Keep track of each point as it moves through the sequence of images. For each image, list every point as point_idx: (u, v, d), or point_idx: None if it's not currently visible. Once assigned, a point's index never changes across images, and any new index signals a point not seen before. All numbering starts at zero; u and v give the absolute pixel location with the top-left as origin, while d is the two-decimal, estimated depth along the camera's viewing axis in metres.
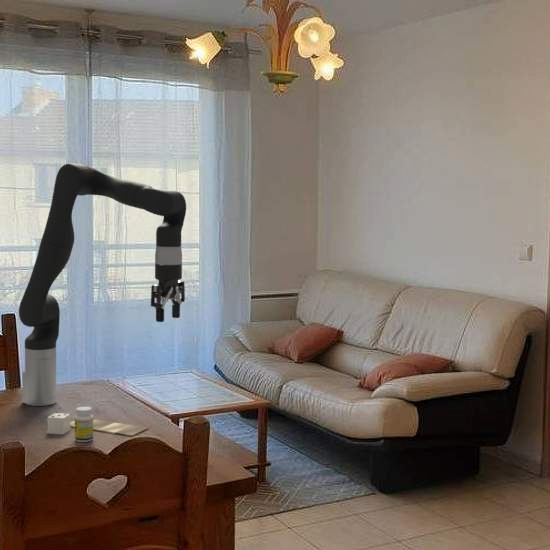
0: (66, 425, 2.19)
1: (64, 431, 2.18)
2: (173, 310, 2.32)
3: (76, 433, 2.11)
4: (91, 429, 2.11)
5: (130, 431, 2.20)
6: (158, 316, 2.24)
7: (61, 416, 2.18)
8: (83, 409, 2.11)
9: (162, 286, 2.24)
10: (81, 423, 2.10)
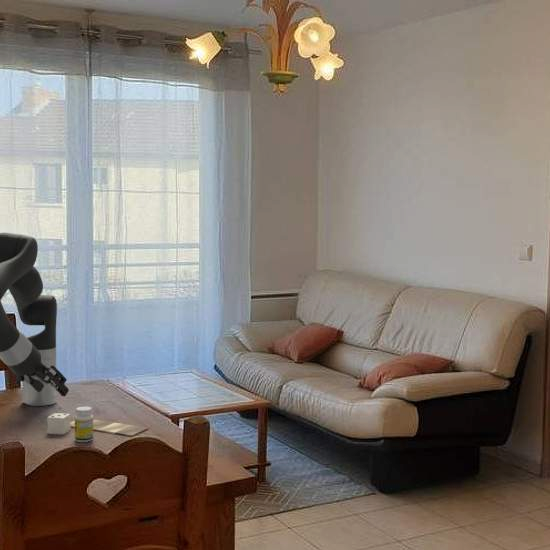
0: (66, 425, 2.19)
1: (64, 431, 2.18)
2: None
3: (76, 433, 2.11)
4: (91, 429, 2.11)
5: (130, 431, 2.20)
6: None
7: (61, 416, 2.18)
8: (83, 409, 2.11)
9: None
10: (81, 423, 2.10)
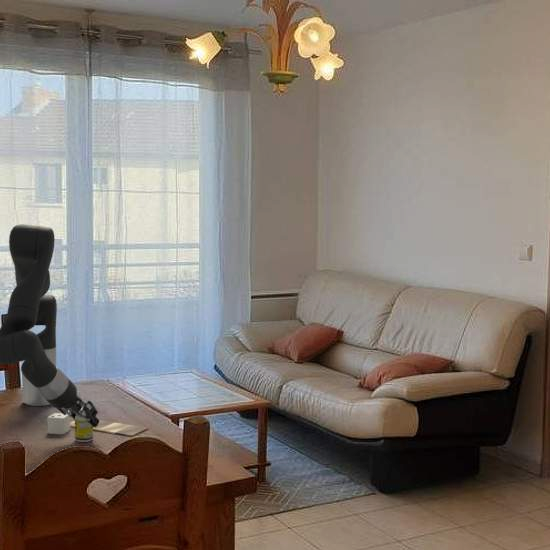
0: (66, 425, 2.19)
1: (64, 431, 2.18)
2: None
3: (76, 433, 2.11)
4: (91, 429, 2.11)
5: (130, 431, 2.20)
6: None
7: (61, 416, 2.18)
8: None
9: None
10: (81, 423, 2.10)
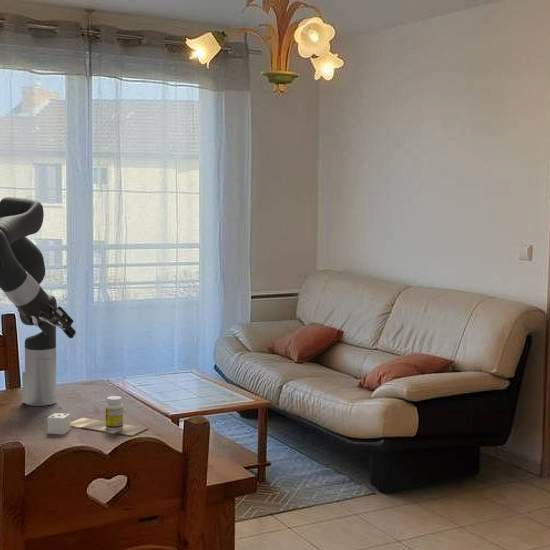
0: (66, 425, 2.19)
1: (64, 431, 2.18)
2: None
3: (107, 421, 2.21)
4: (121, 417, 2.22)
5: (130, 431, 2.20)
6: None
7: (61, 416, 2.18)
8: (114, 398, 2.21)
9: None
10: (112, 412, 2.20)
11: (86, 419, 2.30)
